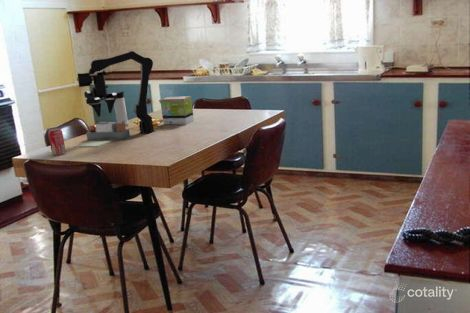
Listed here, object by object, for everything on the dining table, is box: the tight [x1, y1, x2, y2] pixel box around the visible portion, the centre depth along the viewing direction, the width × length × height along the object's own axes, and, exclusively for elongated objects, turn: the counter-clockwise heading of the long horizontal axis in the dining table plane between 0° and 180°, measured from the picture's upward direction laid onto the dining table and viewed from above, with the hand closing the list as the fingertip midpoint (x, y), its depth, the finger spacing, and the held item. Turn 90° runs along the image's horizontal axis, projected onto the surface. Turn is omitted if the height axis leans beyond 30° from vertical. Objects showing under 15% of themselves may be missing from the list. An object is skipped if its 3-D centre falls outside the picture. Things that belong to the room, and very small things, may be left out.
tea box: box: [160, 95, 195, 125], centre depth 295 cm, size 15×10×15 cm
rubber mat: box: [78, 140, 111, 148], centre depth 260 cm, size 12×10×1 cm
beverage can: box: [47, 127, 67, 156], centre depth 244 cm, size 6×6×12 cm
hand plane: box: [85, 123, 131, 141], centre depth 271 cm, size 22×7×8 cm, turn 67°
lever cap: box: [95, 121, 118, 132], centre depth 270 cm, size 10×5×5 cm, turn 67°
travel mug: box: [113, 91, 129, 127], centre depth 303 cm, size 6×7×20 cm
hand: (104, 114), depth 269 cm, fingers open, 9 cm apart
